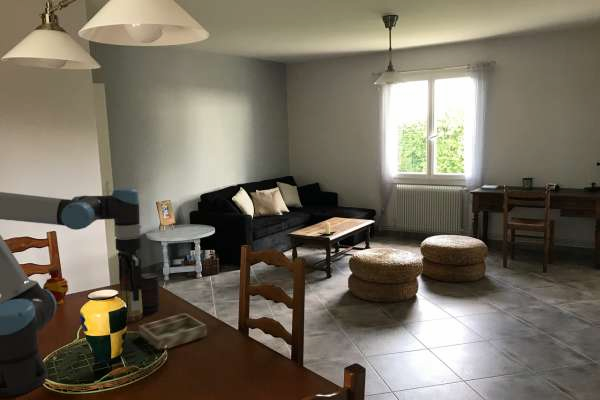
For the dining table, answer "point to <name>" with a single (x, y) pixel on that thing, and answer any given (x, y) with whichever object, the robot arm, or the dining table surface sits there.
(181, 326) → the box
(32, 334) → the robot arm
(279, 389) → the dining table surface
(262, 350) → the dining table surface
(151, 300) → the camera lens
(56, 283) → the potion bottle
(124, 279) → the sauce bottle
